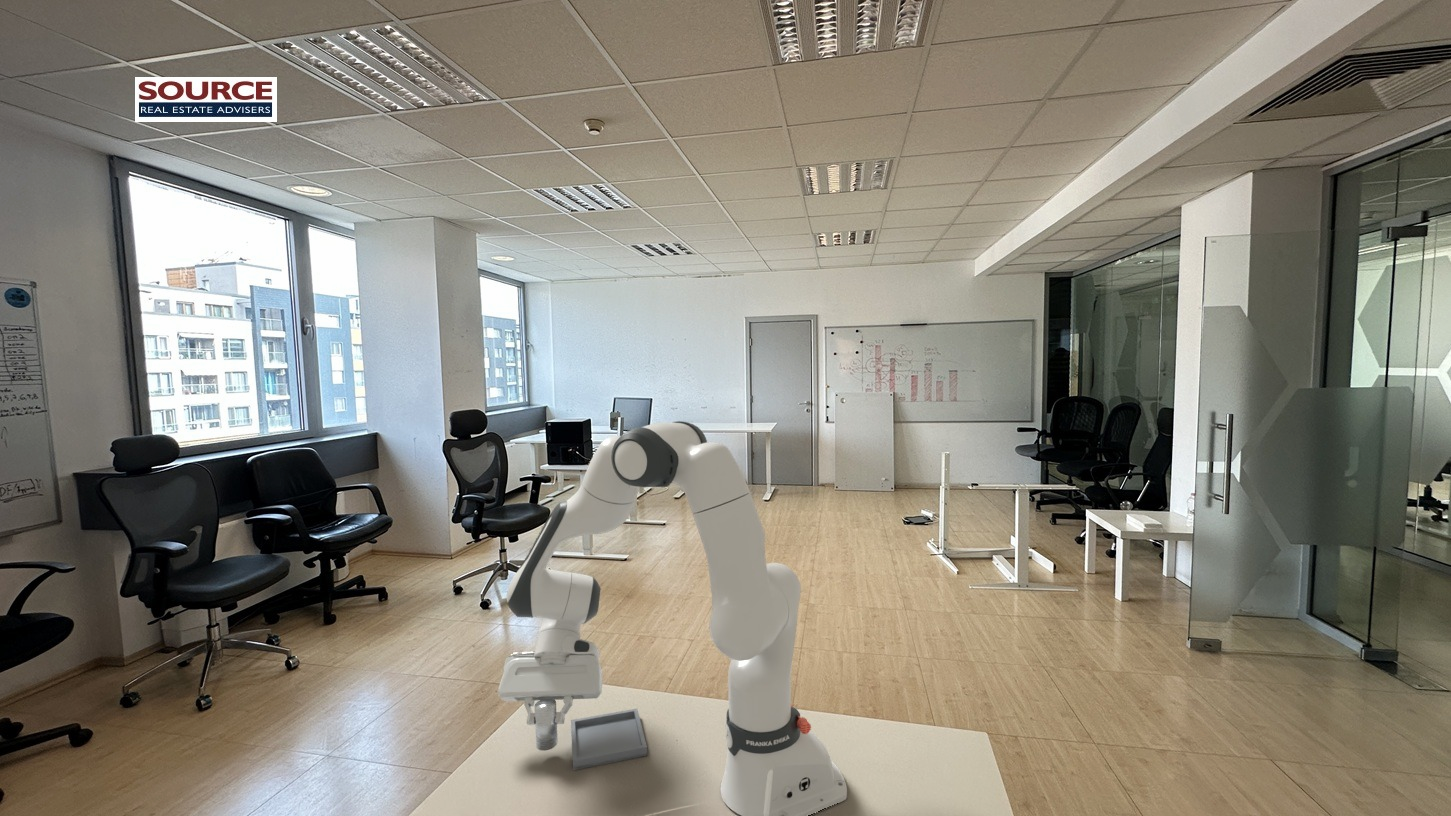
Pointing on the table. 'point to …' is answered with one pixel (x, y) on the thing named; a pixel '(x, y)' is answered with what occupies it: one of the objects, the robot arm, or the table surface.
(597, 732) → the parts tray
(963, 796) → the table surface
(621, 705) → the table surface
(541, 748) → the glossy grey cylinder
